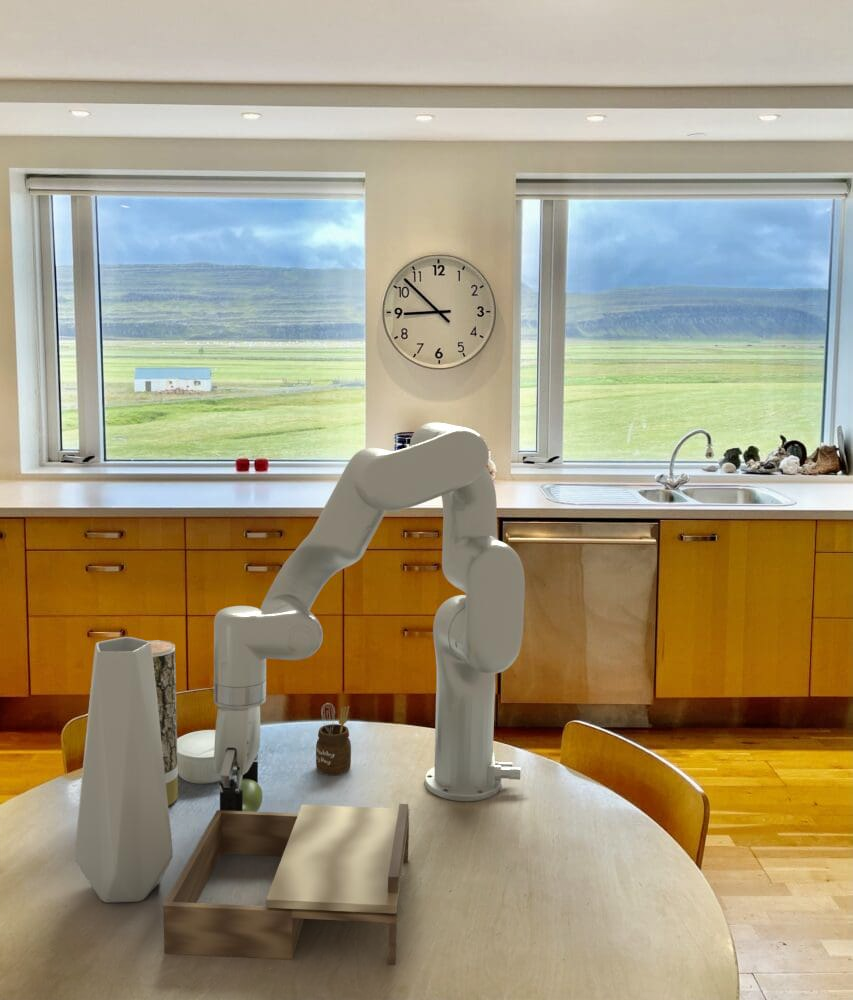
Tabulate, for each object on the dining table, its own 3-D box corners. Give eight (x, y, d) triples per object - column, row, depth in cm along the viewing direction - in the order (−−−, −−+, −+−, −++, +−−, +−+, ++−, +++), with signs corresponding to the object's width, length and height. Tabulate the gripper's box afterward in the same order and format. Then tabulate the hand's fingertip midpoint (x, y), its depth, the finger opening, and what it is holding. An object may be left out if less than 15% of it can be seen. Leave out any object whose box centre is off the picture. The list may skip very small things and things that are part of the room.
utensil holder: (336, 758, 160) (337, 692, 159) (359, 770, 156) (359, 702, 154) (308, 767, 156) (309, 700, 155) (331, 780, 152) (331, 711, 150)
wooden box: (408, 858, 128) (409, 818, 127) (395, 964, 106) (396, 916, 105) (217, 850, 130) (217, 810, 129) (164, 953, 107) (163, 905, 106)
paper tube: (165, 814, 139) (161, 655, 136) (124, 808, 141) (120, 651, 137) (185, 793, 146) (182, 642, 142) (146, 789, 147) (142, 638, 144)
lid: (409, 815, 127) (409, 795, 127) (396, 913, 105) (396, 889, 104) (302, 811, 128) (302, 791, 128) (266, 907, 105) (265, 883, 105)
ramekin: (232, 788, 148) (232, 757, 148) (164, 786, 149) (163, 756, 148) (247, 759, 160) (246, 730, 159) (183, 757, 160) (182, 728, 159)
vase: (74, 873, 123) (65, 636, 118) (163, 857, 127) (158, 627, 123) (78, 925, 112) (68, 665, 107) (176, 904, 116) (171, 654, 111)
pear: (265, 772, 140) (249, 816, 131) (268, 800, 142) (252, 846, 133) (229, 771, 141) (211, 815, 131) (232, 799, 143) (214, 844, 133)
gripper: (229, 670, 143) (229, 774, 146) (197, 711, 126) (198, 828, 129) (277, 673, 143) (276, 776, 146) (251, 714, 126) (251, 831, 128)
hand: (239, 800), depth 137 cm, fingers closed on pear, 9 cm apart
